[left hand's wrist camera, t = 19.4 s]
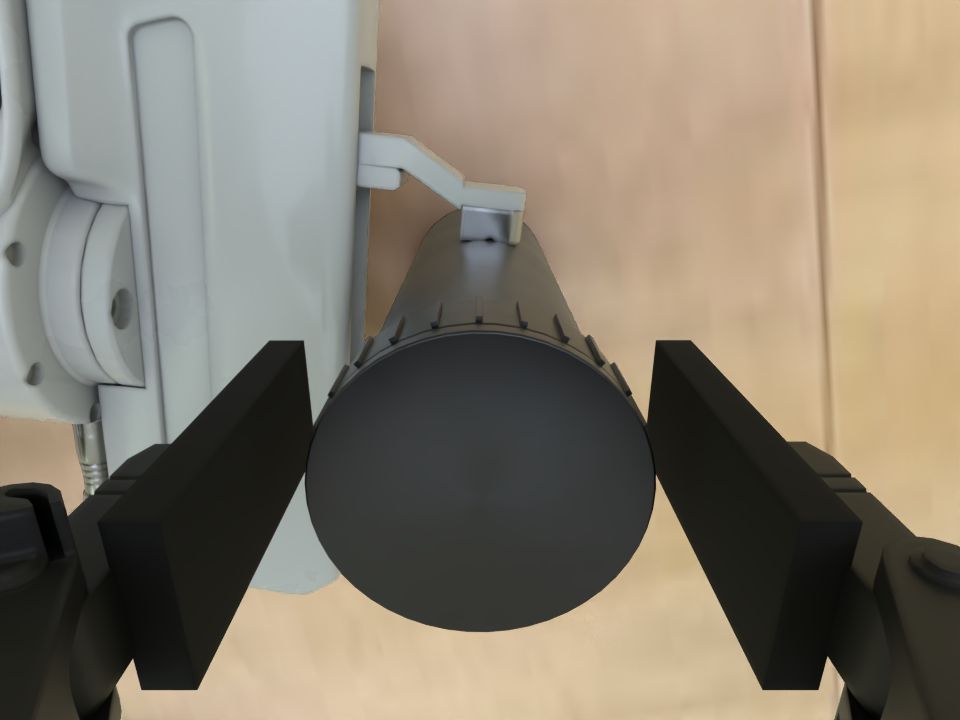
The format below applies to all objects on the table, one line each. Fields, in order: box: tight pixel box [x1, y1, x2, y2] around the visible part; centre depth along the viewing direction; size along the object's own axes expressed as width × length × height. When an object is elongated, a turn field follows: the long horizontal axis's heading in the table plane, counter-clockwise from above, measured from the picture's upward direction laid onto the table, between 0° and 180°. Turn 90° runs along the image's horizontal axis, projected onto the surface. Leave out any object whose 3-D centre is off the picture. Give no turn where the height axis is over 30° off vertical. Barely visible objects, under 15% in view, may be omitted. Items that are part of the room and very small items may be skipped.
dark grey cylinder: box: [379, 208, 581, 334], centre depth 18 cm, size 5×5×16 cm
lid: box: [305, 296, 656, 632], centre depth 11 cm, size 6×6×2 cm
